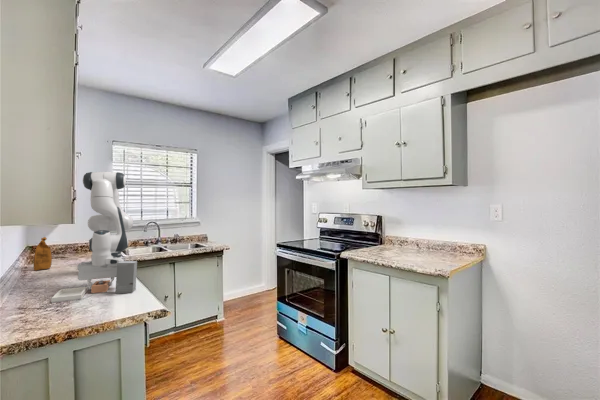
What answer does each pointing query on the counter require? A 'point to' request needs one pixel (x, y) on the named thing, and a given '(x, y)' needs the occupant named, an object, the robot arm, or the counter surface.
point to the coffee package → (42, 256)
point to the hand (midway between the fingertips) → (101, 286)
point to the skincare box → (126, 277)
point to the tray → (69, 294)
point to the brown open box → (100, 287)
